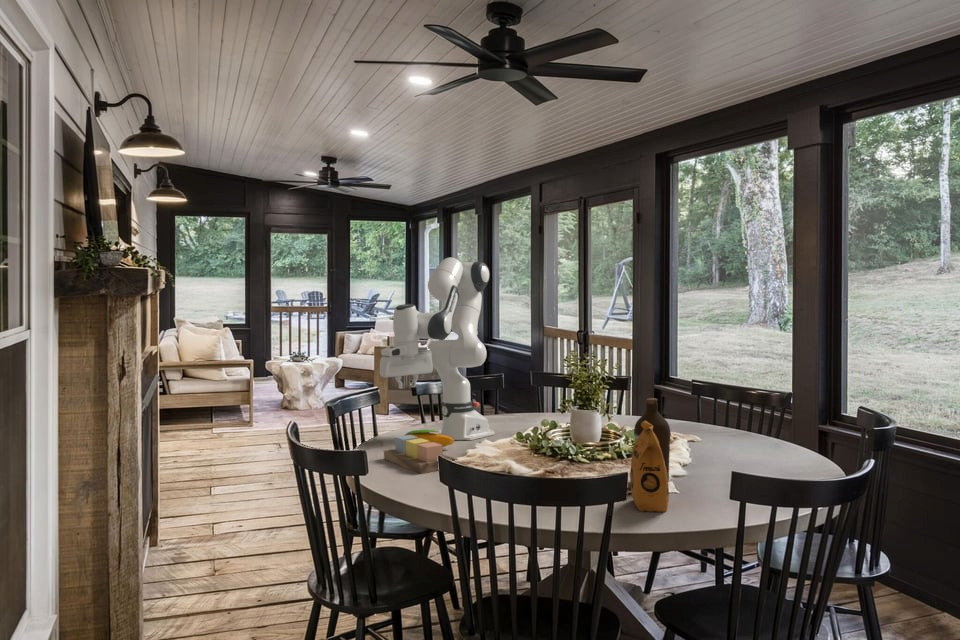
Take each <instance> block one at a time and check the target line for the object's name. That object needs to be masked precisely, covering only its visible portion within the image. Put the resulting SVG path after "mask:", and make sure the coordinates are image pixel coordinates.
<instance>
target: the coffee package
mask: <svg viewBox="0 0 960 640" xmlns="http://www.w3.org/2000/svg"><path fill="white" fill-rule="evenodd" d="M641 427H642V428H644V429H643V431H642V433H641V434H640V436H639V437H638V439H637V440H636V442H635V441H634V444H633V447H632V450H631V451H632V452H631V461H630V470H629V471H630V473H629V474H630V475H629V477H630V478H629V480H630V491H631V492H630V493H631V497H632V500H633V503H634V504H635V506H636V508H637V510H638V511H640V512H655V513H656V512H659V513H660V512H661V513H663V512H664V513H666V512H667V510H668V503H669V499H670V498H669V497H670V492H669V491H670V489H669V482H668V476H667V469H666V466H665V462H664V458H663V455H662V451H661V448H660V445H659V441H658V439H657V437H656V435H655V434H654V432H653V431H652V430H653V425H652V424H650V423H648V422H647V421H644V422H642V423H641Z"/></svg>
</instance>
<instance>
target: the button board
mask: <svg viewBox="0 0 960 640" xmlns="http://www.w3.org/2000/svg"><path fill="white" fill-rule="evenodd" d="M443 456H444V457H445V458H447V459H450V460H452V461H455V462H456V458H454V457H451V456H449V455H446V454H443ZM385 459H386V460H385ZM383 460H385V461H388V460H389V461H388V462H390V461H391V462H390V463H392V464H395V463H396V464H395V465H398V466H400V467H403V468H405V469H407V468H408V470H410V471H413V472H416V473H418V474H420V475H422V474H423V475H424V474H428V473H434V472H438V461H432V462H424V461H421V460H419V459H418V457H417V458H413V457H411V456H408V455H406V453H404V454H403V453H400V452H397V451H395V448H393V449H386V450H383Z"/></svg>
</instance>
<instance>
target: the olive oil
mask: <svg viewBox="0 0 960 640" xmlns="http://www.w3.org/2000/svg"><path fill="white" fill-rule="evenodd" d="M658 405H659V404H658V398H655V397H648V398H646V403H645V408H646V409H645V412H644V413H643V414H642V415H641V416H640V417H639V418H638V420H636V422H635V424H634V429H633V432H634V433H633V436H634V443H635V442H636V440H637V439H638V437H639V436H640V434H641V433H642V431H643V429H644V428H642V427H641V423H642V422H644V421H647V422H648V423H650V424H652V425H653V430H652V431H653V432H654V434H655V435H656V437H657V439H658V441H659V445H660V448H661V451H662V455H663V458H664V462H665V466H666V469H667V476H668V483H669V481H670V451H671V449H670V447H671V428H670V427H671V426H670V425H669V423H668V421H667V420H666V418H665V417H663V416H662V414H661V413H660V412H659V411H658Z"/></svg>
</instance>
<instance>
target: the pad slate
mask: <svg viewBox="0 0 960 640" xmlns="http://www.w3.org/2000/svg"><path fill="white" fill-rule="evenodd" d="M404 435H405V434H404ZM404 435H400V436H399V435H398V436H395V437H394V441H395V442H394V444H395V446H394V447H395V448H394V449H395V451H397V452H400V453H403V454H404V453H406V441H407V440H413V439H418V437H416V436H413V435H405V436H404Z"/></svg>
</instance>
